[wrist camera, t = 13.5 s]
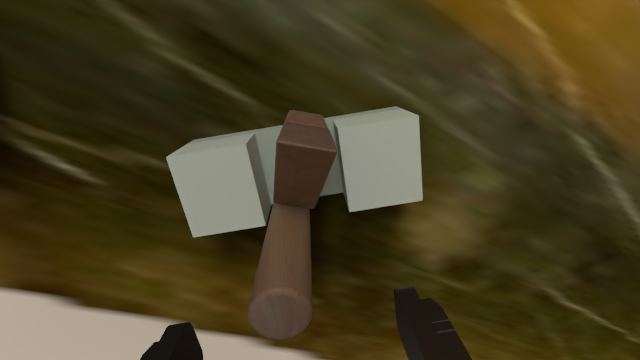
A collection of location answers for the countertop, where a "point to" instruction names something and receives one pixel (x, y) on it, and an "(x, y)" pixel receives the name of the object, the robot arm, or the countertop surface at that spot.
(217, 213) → the slotted beam
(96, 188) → the countertop surface
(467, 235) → the countertop surface
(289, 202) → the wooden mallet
